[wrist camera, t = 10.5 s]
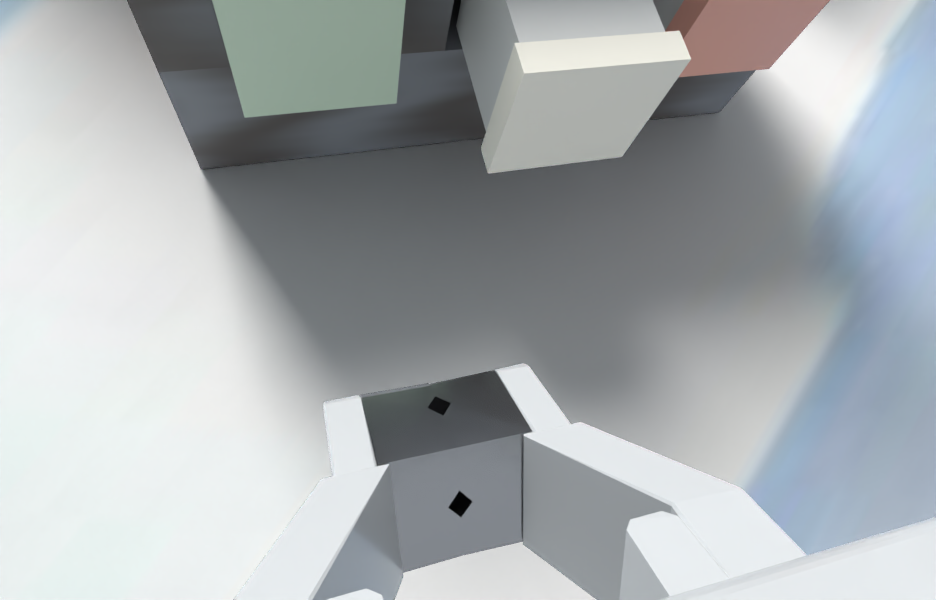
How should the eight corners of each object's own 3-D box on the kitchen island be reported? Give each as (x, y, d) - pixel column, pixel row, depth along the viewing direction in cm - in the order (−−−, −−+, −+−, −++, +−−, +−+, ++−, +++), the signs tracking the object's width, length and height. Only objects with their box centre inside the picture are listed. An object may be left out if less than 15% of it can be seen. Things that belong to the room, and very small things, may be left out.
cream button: (487, 173, 17) (524, 73, 13) (448, 31, 18) (471, -95, 15) (621, 157, 18) (691, 58, 14) (574, 23, 19) (626, -98, 15)
